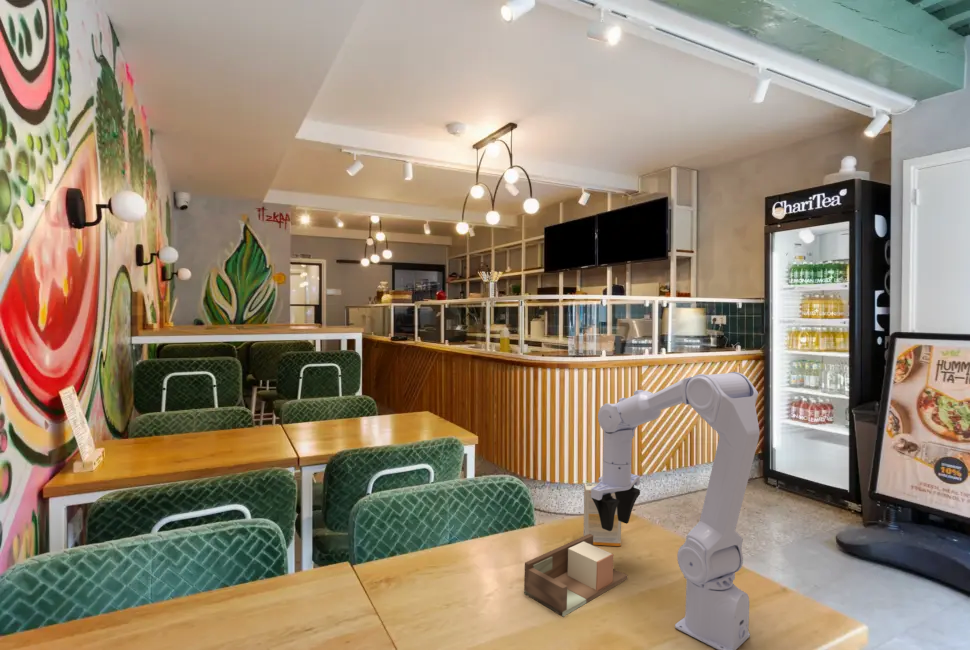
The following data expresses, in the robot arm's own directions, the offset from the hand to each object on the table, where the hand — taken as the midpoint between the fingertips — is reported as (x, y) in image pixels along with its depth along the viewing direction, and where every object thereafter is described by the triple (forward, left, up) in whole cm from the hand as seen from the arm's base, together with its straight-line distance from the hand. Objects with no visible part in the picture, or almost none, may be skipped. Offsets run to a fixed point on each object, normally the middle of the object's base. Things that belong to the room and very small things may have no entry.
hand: (615, 525), depth 109 cm
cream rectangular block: (0, +8, -9) cm, 12 cm away
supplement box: (+10, -9, -10) cm, 16 cm away
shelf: (+1, +12, -9) cm, 15 cm away
